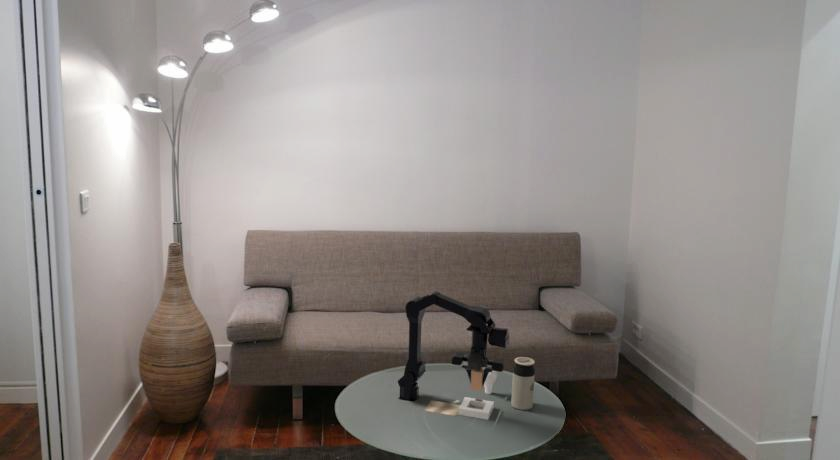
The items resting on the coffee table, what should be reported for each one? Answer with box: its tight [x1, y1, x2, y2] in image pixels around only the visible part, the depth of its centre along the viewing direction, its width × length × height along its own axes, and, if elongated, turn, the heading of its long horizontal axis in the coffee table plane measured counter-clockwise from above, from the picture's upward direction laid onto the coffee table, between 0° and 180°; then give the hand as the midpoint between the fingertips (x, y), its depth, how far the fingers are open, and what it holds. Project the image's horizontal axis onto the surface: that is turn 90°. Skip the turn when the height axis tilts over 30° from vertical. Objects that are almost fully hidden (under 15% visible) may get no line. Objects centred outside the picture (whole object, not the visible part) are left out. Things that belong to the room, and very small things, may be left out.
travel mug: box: [510, 356, 536, 411], centre depth 226 cm, size 8×8×18 cm
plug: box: [470, 367, 485, 392], centre depth 219 cm, size 4×4×7 cm
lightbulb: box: [483, 371, 498, 395], centre depth 236 cm, size 6×6×11 cm
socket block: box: [457, 396, 495, 421], centre depth 221 cm, size 11×10×4 cm
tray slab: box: [423, 399, 461, 417], centre depth 223 cm, size 12×9×1 cm
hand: (477, 384), depth 219 cm, fingers closed on plug, 4 cm apart
